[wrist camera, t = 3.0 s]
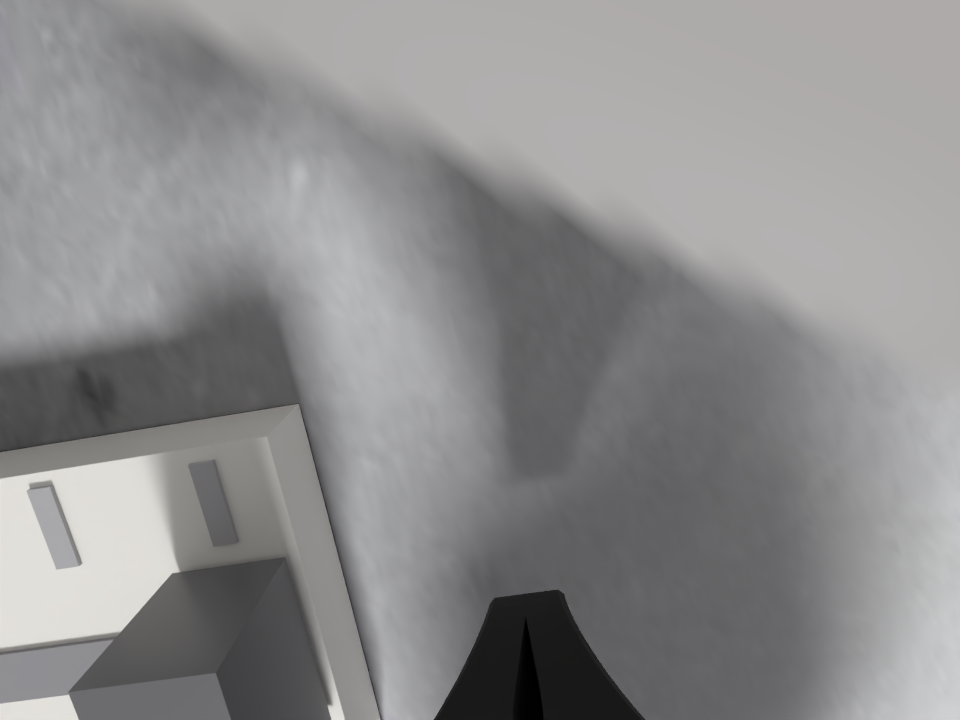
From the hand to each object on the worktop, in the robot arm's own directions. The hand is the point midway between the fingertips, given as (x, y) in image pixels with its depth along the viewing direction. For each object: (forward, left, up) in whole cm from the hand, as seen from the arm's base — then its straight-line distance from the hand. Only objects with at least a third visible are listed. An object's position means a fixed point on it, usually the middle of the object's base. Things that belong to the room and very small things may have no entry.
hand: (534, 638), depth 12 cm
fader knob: (0, +6, -1) cm, 6 cm away
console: (0, +9, -3) cm, 10 cm away
